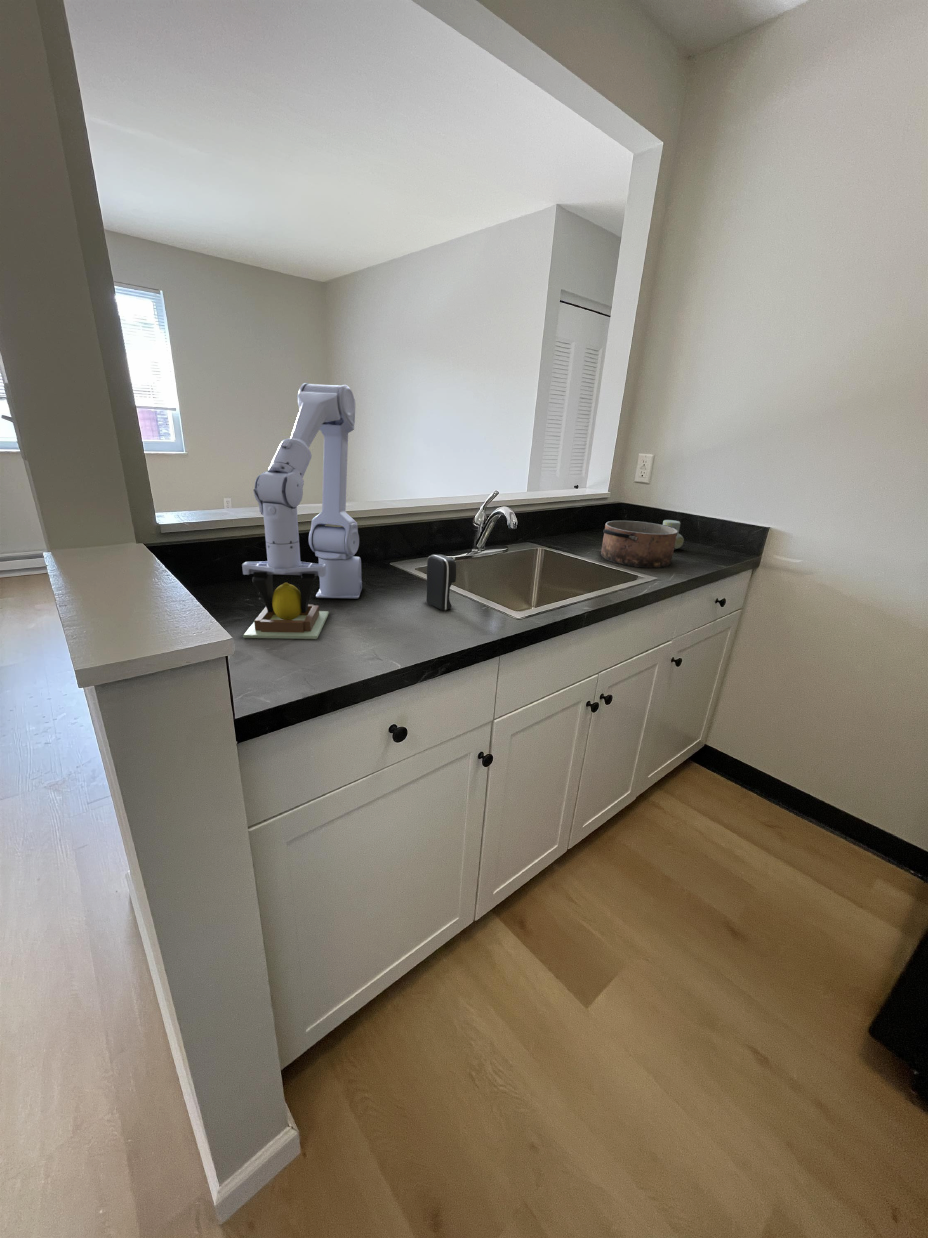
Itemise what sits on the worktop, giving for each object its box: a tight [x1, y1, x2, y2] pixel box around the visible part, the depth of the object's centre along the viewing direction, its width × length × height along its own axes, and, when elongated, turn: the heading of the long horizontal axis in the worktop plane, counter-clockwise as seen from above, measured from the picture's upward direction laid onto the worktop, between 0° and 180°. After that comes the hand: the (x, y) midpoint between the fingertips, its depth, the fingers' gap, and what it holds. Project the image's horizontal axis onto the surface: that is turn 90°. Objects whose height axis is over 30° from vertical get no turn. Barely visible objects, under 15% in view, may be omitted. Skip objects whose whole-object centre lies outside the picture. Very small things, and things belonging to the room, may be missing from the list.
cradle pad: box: [242, 603, 330, 640], centre depth 95 cm, size 13×13×3 cm
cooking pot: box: [600, 520, 678, 569], centre depth 162 cm, size 30×22×11 cm
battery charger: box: [425, 554, 457, 611], centre depth 109 cm, size 7×4×11 cm, turn 37°
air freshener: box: [662, 519, 685, 551], centre depth 182 cm, size 11×8×10 cm
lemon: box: [272, 582, 302, 620], centre depth 94 cm, size 6×6×8 cm
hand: (288, 610), depth 95 cm, fingers open, 6 cm apart
